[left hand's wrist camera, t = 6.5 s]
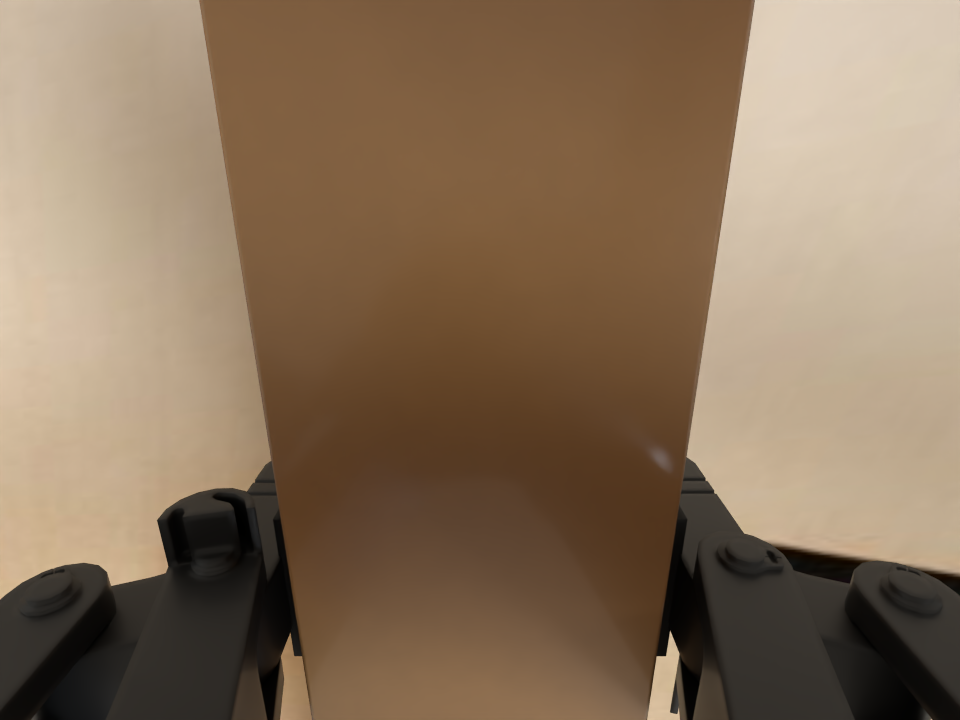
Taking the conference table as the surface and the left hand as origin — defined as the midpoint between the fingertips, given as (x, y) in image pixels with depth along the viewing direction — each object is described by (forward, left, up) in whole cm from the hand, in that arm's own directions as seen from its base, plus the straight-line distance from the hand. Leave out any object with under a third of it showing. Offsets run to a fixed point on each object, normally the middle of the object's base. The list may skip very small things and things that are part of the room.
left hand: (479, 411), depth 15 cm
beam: (+17, +19, -1) cm, 25 cm away
